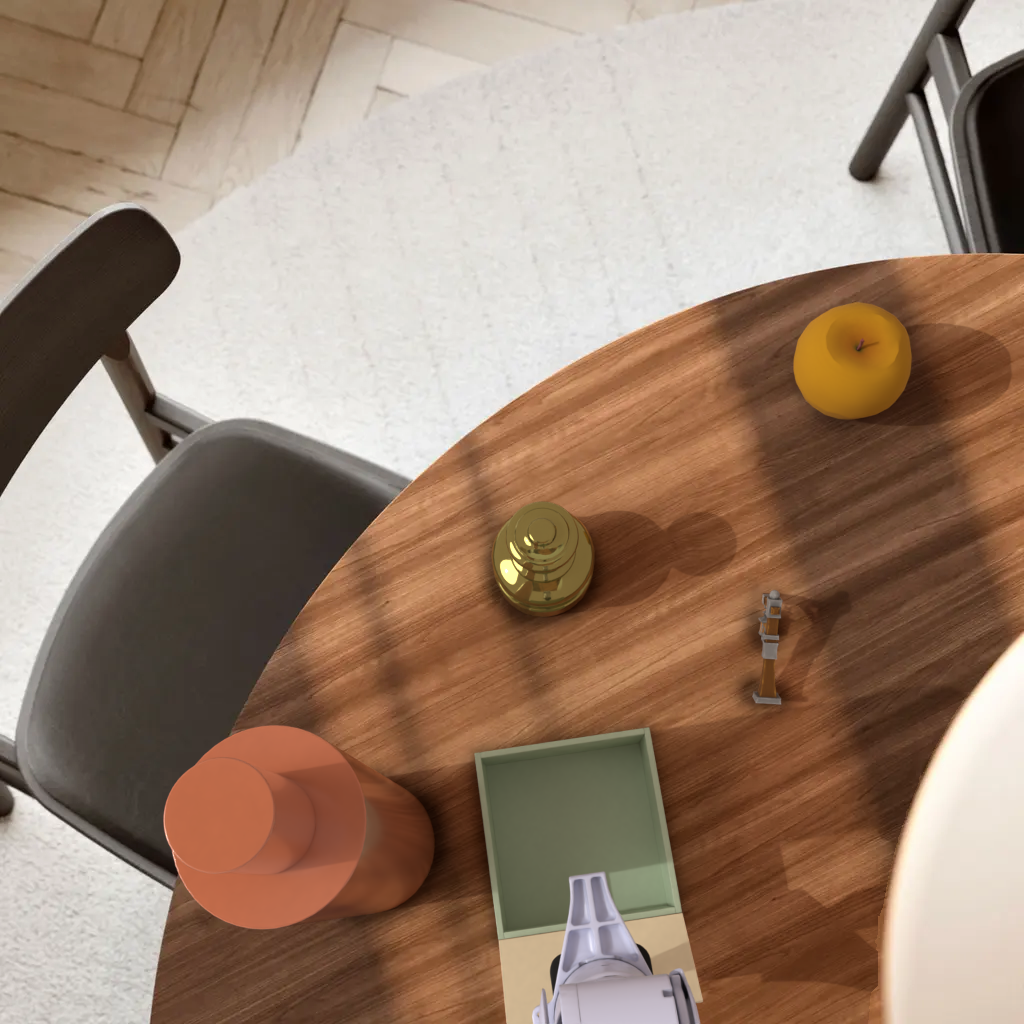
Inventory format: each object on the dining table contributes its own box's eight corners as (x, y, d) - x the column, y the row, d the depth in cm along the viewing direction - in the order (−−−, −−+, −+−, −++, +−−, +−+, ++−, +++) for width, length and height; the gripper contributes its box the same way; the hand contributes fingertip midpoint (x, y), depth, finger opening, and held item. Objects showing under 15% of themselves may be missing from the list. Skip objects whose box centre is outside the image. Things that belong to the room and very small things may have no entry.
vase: (403, 934, 79) (272, 976, 43) (285, 882, 81) (63, 881, 45) (454, 808, 82) (370, 748, 46) (339, 760, 83) (169, 665, 47)
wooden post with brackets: (779, 581, 85) (790, 592, 80) (771, 688, 86) (782, 705, 81) (754, 580, 85) (763, 591, 81) (747, 687, 86) (756, 703, 81)
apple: (825, 318, 92) (852, 262, 84) (915, 381, 90) (951, 329, 82) (760, 394, 91) (780, 344, 82) (850, 460, 89) (880, 415, 80)
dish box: (673, 910, 79) (682, 912, 74) (502, 936, 79) (498, 940, 74) (643, 737, 83) (649, 727, 77) (480, 761, 83) (474, 753, 77)
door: (682, 912, 73) (682, 915, 73) (498, 940, 73) (499, 942, 73) (703, 999, 68) (703, 1002, 69) (507, 1029, 68) (507, 1031, 69)
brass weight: (608, 545, 87) (614, 504, 78) (568, 634, 85) (569, 602, 76) (519, 507, 88) (515, 462, 79) (478, 594, 87) (468, 558, 77)
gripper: (510, 884, 59) (519, 884, 72) (554, 1206, 54) (555, 1143, 67) (648, 864, 59) (632, 867, 72) (702, 1183, 54) (675, 1125, 67)
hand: (602, 1000), depth 70 cm, fingers closed on door
